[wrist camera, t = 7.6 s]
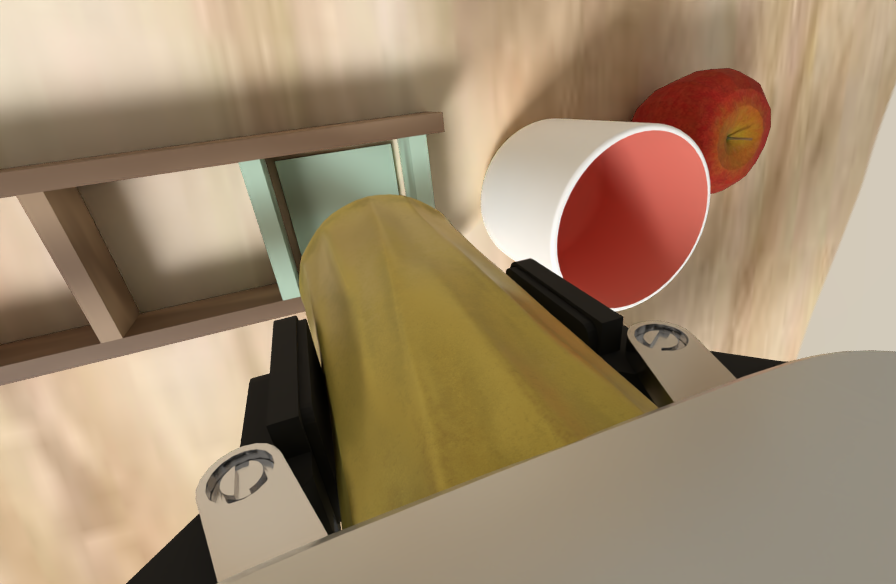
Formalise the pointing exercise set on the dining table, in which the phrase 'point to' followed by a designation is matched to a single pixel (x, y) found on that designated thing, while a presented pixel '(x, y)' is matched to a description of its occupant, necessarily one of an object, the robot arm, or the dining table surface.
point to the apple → (715, 119)
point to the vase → (439, 359)
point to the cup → (599, 203)
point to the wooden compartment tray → (309, 203)
